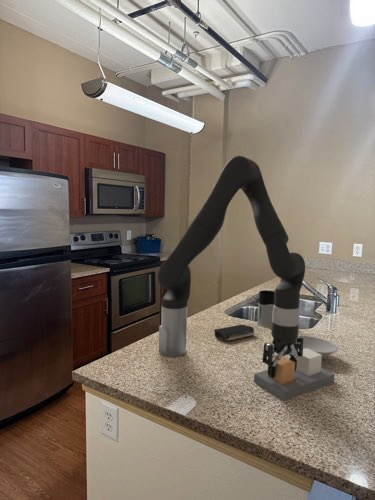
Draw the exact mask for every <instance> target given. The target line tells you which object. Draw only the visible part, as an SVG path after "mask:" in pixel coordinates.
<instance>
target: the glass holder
mask: <svg viewBox="0 0 375 500" xmlns="http://www.w3.org/2000/svg"><path fill="white" fill-rule="evenodd" d="M258 292H259V293H258V302H257V299H256V297H255V295H253V294H249V295H246V299H245V304H246V308H247V310H248V312H249V313H250V314H252V315H253V316H254V317H255V318H256V323H255V324H256V325H257V326H258V327H261V326H262V327H263V328H272V314H273V308H274V295H275V291H273V290H259V291H258ZM249 297H253V298H254V303H255V305H257V315H256V314H254V313H253V312H252V311H251V310H250V308H249V306H248V298H249Z"/></svg>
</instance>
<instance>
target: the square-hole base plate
mask: <svg viewBox="0 0 375 500" xmlns="http://www.w3.org/2000/svg"><path fill="white" fill-rule="evenodd" d="M322 359H323V357H322V355H321V354H319V353H316V352H314V351H312V350H310V349H307V348H306V349H303V356H302V357H301V356H299V358H298V360H297V368H296V371H295V372H294V381H293V382H290V383H287V384H284V385H281V384H280V383H278V382H276V381H275V380H273V379H271V378H270V377H269V375H268V369H266V370H263V371H259V372H256V373H253V374H254V375H253V382H254V383H255V384H257V385H258V386H260V387H262V388H263V389H265V390H266V391H268V392H269V393H271V394H272V395H274V396H275V397H277V398H278V399H280V400H282V401H287V400H290V399H292V398H295V397H297V396H300V395H303V394H306V393H308V392H311V391H313V390H316V389H319V388H321V387H324V386H327V385H329V384H332V383H334V382H335V375H336V374H335V373H333V372H331V371H329V370H327V369H325V368H323V367H322Z"/></svg>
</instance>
